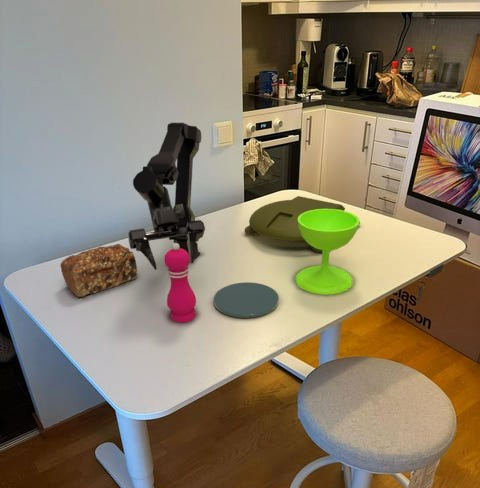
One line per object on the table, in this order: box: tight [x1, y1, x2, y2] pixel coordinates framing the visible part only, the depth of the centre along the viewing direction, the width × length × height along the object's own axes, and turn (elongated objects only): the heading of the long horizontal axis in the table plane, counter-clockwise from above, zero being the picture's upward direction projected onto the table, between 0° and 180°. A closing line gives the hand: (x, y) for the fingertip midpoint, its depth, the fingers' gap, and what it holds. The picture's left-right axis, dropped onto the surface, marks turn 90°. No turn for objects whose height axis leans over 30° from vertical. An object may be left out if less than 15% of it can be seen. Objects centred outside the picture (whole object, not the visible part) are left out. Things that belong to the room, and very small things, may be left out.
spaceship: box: [244, 195, 361, 253], centre depth 165 cm, size 35×31×10 cm
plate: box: [213, 281, 280, 319], centre depth 130 cm, size 17×17×1 cm
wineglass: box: [295, 209, 360, 296], centre depth 134 cm, size 16×16×18 cm
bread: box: [59, 243, 138, 298], centre depth 139 cm, size 19×11×10 cm, turn 127°
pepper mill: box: [163, 242, 197, 324], centre depth 120 cm, size 7×7×20 cm
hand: (174, 266), depth 122 cm, fingers open, 9 cm apart
